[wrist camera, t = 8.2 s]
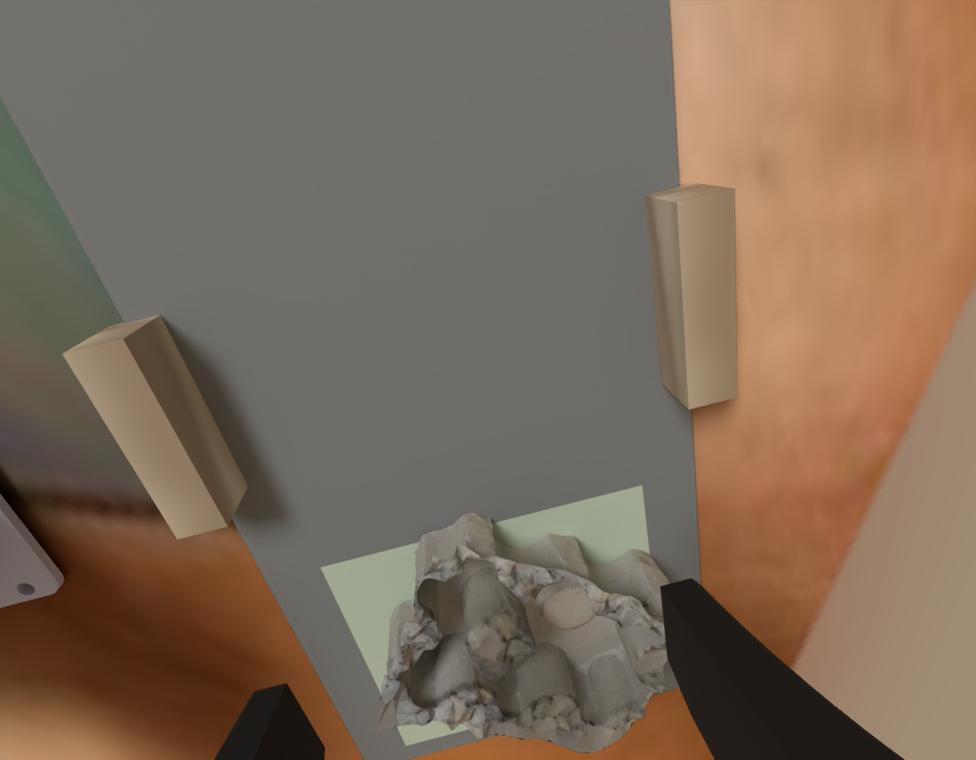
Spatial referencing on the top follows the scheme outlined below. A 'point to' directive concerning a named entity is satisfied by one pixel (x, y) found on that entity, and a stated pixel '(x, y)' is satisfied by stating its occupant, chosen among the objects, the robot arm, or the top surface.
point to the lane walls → (215, 474)
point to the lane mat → (385, 275)
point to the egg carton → (525, 639)
